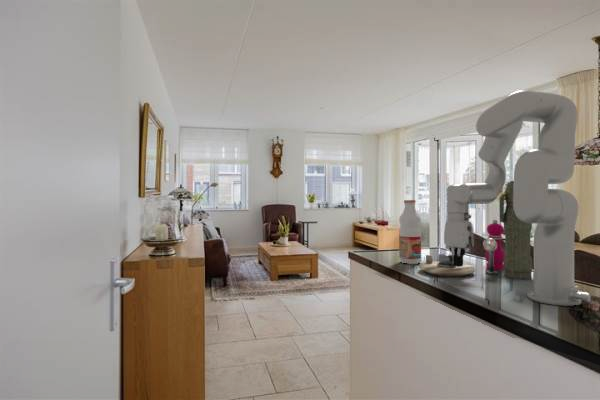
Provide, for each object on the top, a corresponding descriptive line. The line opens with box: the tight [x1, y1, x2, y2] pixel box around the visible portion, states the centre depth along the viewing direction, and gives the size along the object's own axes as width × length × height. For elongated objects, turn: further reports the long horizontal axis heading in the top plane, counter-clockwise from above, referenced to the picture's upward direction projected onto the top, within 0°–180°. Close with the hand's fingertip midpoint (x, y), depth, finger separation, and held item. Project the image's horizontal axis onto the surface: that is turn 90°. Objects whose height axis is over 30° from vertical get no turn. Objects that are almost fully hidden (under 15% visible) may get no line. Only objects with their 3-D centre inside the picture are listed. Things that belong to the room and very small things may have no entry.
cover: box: [437, 253, 456, 268], centre depth 143 cm, size 7×7×4 cm
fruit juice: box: [398, 199, 422, 265], centre depth 164 cm, size 9×9×28 cm
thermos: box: [499, 180, 533, 281], centre depth 133 cm, size 9×12×35 cm
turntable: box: [418, 254, 476, 275], centre depth 143 cm, size 20×20×4 cm
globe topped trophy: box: [482, 238, 498, 275], centre depth 140 cm, size 5×4×14 cm
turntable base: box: [424, 271, 470, 278], centre depth 143 cm, size 16×16×1 cm
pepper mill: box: [484, 219, 505, 271], centre depth 150 cm, size 7×7×20 cm
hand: (458, 265), depth 138 cm, fingers closed
